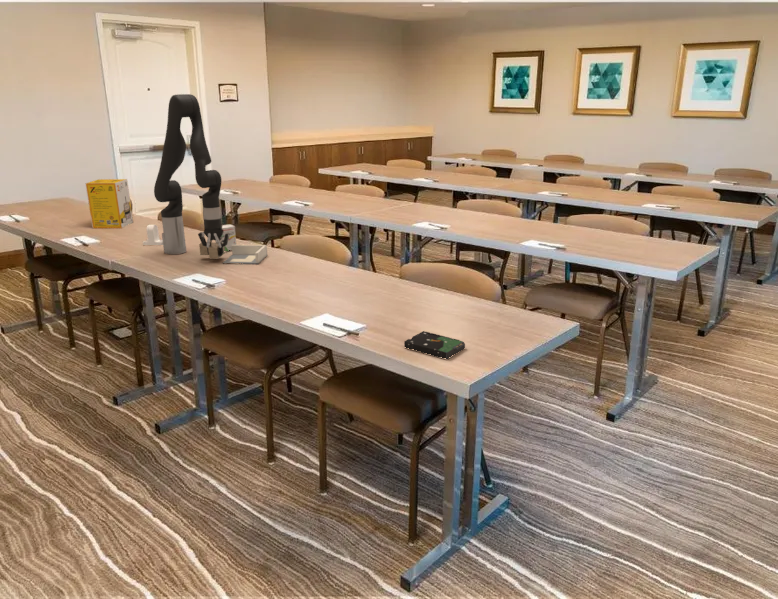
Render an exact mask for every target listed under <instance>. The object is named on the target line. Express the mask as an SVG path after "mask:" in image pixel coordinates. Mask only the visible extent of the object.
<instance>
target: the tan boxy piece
mask: <svg viewBox="0 0 778 599" xmlns="http://www.w3.org/2000/svg"><path fill="white" fill-rule="evenodd" d="M198 246H199V255H200V256H208V258H209V260H210V259H212V260H213V259H214V260H215V259H216V260H217V259H218V260H219V259H220V258H221V257H222V256H223V255H225V253H226V252H224V247H223V254H222V256H219V246H218V243H216V242H212V243H211V246H210V247H208V251H209V254H208V251H207V247H206V246H203V245H202V243H201V242H200V243H199V244H198Z"/></svg>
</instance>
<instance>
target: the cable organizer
mask: <svg viewBox="0 0 778 599" xmlns="http://www.w3.org/2000/svg"><path fill="white" fill-rule="evenodd" d="M146 236H147V239H145V240H143V241H142V246H143V245H163V240H162V239H161V238H160V232H159V227H158V225H157V224H148V225H147V226H146Z"/></svg>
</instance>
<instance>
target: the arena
mask: <svg viewBox="0 0 778 599" xmlns="http://www.w3.org/2000/svg"><path fill="white" fill-rule="evenodd" d="M266 256H267V257H268V246H267V244H236V245H232V251H231V255H230V256H229V257H228V258H226V259H225V260H224V261H223V262H222V264H223V263H241V264H240V265H260V264H261V263H262V262H263V261H264V260H265V259H266V258H267V257H266ZM265 257H266V258H265ZM264 258H265V259H264ZM263 259H264V260H263ZM262 260H263V261H262ZM261 261H262V262H261ZM260 262H261V263H260ZM242 263H243V264H242ZM259 263H260V264H259Z"/></svg>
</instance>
